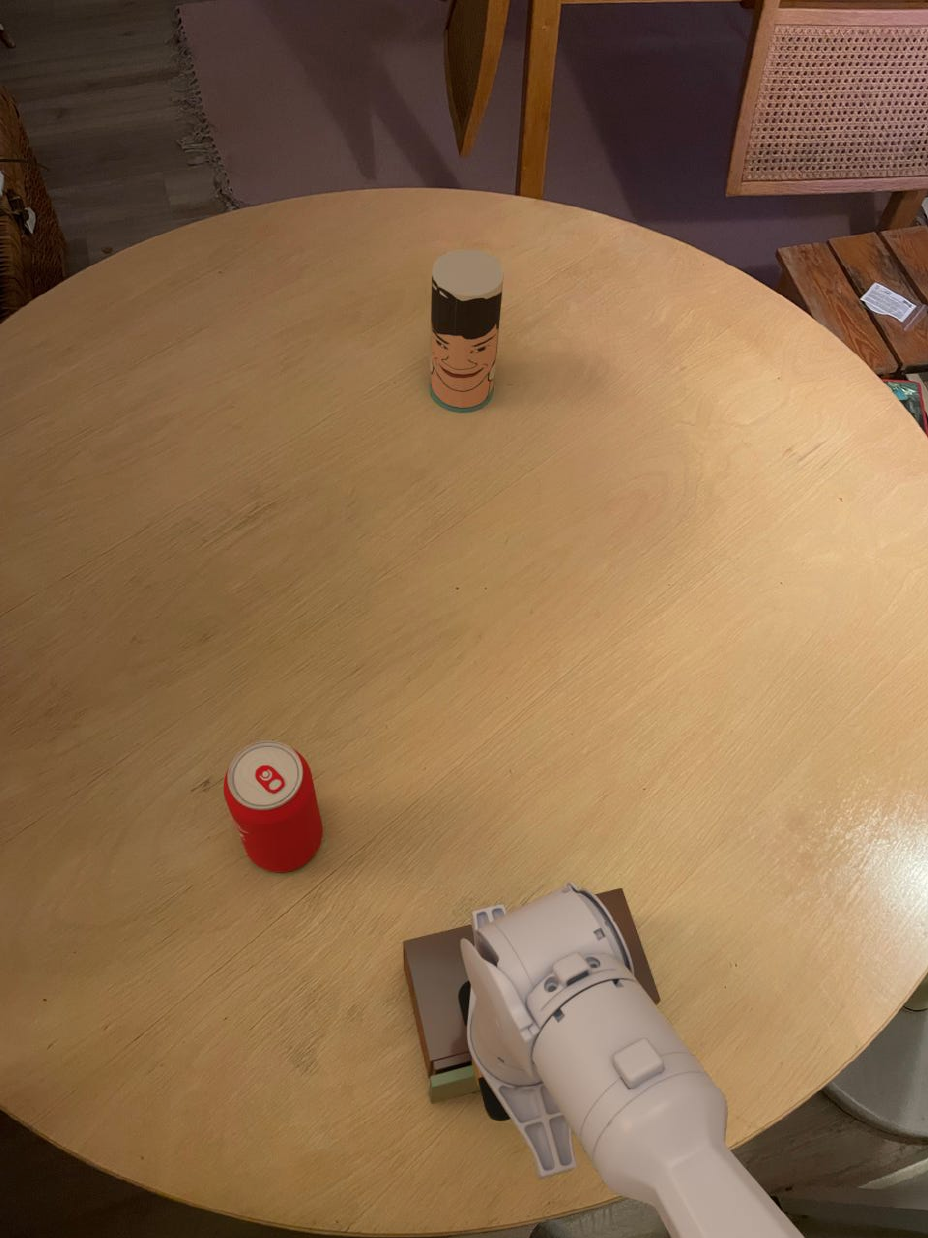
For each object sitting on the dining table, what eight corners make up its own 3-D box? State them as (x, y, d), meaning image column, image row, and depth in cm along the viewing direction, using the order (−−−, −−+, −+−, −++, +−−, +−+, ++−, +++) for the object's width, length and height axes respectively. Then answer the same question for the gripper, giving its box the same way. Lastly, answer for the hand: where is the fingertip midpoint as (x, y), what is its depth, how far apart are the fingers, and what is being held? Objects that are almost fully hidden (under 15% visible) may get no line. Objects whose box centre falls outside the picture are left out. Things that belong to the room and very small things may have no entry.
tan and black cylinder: (416, 392, 109) (417, 275, 97) (454, 358, 112) (460, 239, 100) (468, 422, 107) (476, 305, 95) (505, 385, 110) (517, 268, 98)
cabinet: (645, 1030, 75) (664, 1009, 69) (430, 1089, 72) (432, 1071, 67) (607, 915, 79) (622, 887, 74) (403, 966, 77) (402, 941, 71)
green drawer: (544, 1083, 72) (560, 1056, 64) (432, 1114, 71) (435, 1090, 63) (537, 1060, 73) (553, 1030, 65) (427, 1090, 72) (429, 1063, 64)
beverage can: (289, 785, 84) (272, 716, 74) (339, 838, 82) (329, 774, 72) (227, 836, 82) (201, 772, 72) (277, 892, 79) (257, 833, 69)
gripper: (646, 1141, 51) (604, 1169, 63) (560, 866, 59) (536, 936, 70) (510, 1180, 50) (492, 1202, 62) (439, 895, 58) (435, 961, 69)
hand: (508, 1062), depth 66 cm, fingers open, 3 cm apart
